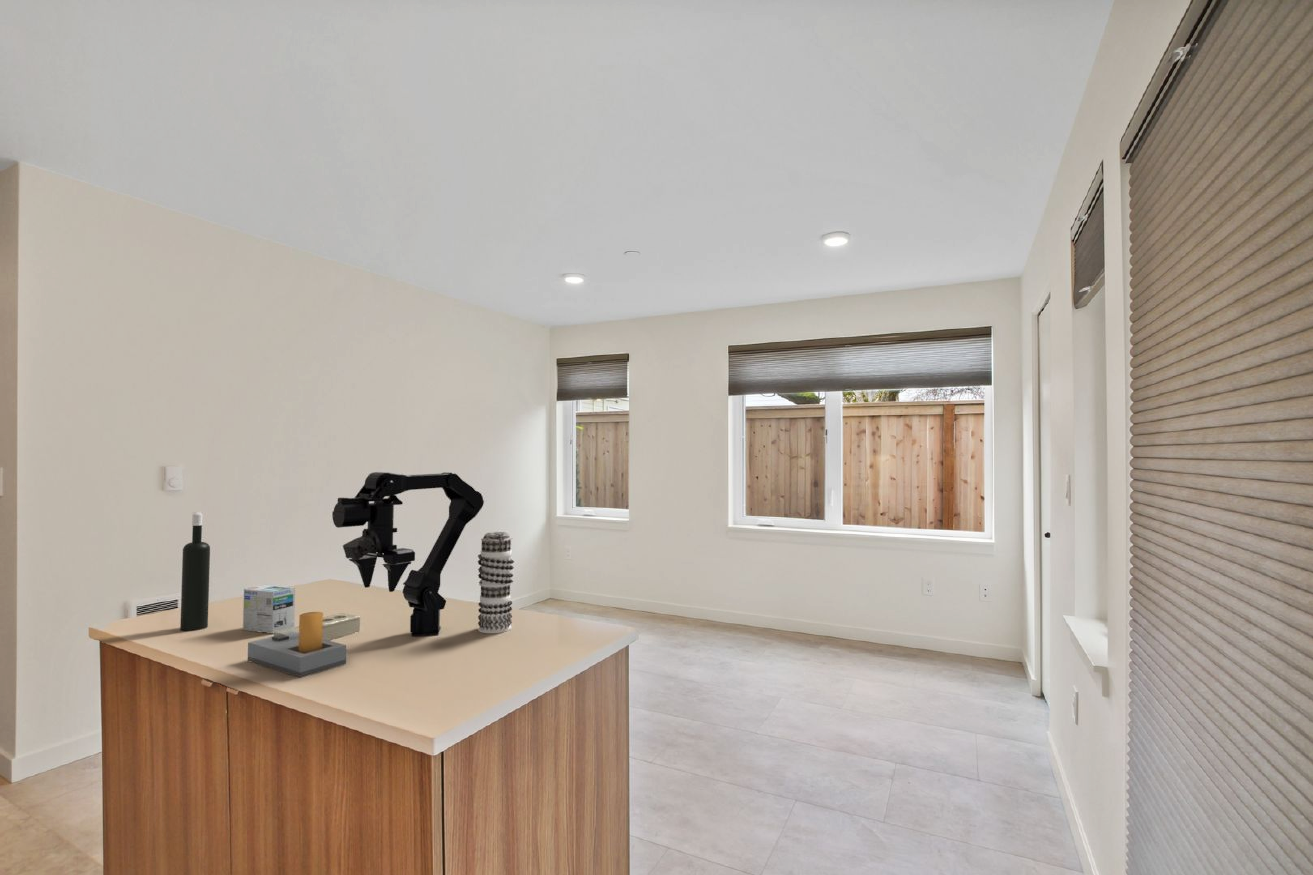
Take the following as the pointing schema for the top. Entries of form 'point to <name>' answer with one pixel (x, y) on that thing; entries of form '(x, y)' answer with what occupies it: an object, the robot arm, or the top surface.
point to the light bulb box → (269, 608)
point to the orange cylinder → (310, 632)
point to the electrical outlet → (333, 626)
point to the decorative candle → (495, 583)
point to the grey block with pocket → (295, 655)
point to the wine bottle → (195, 579)
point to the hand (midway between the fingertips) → (379, 589)
